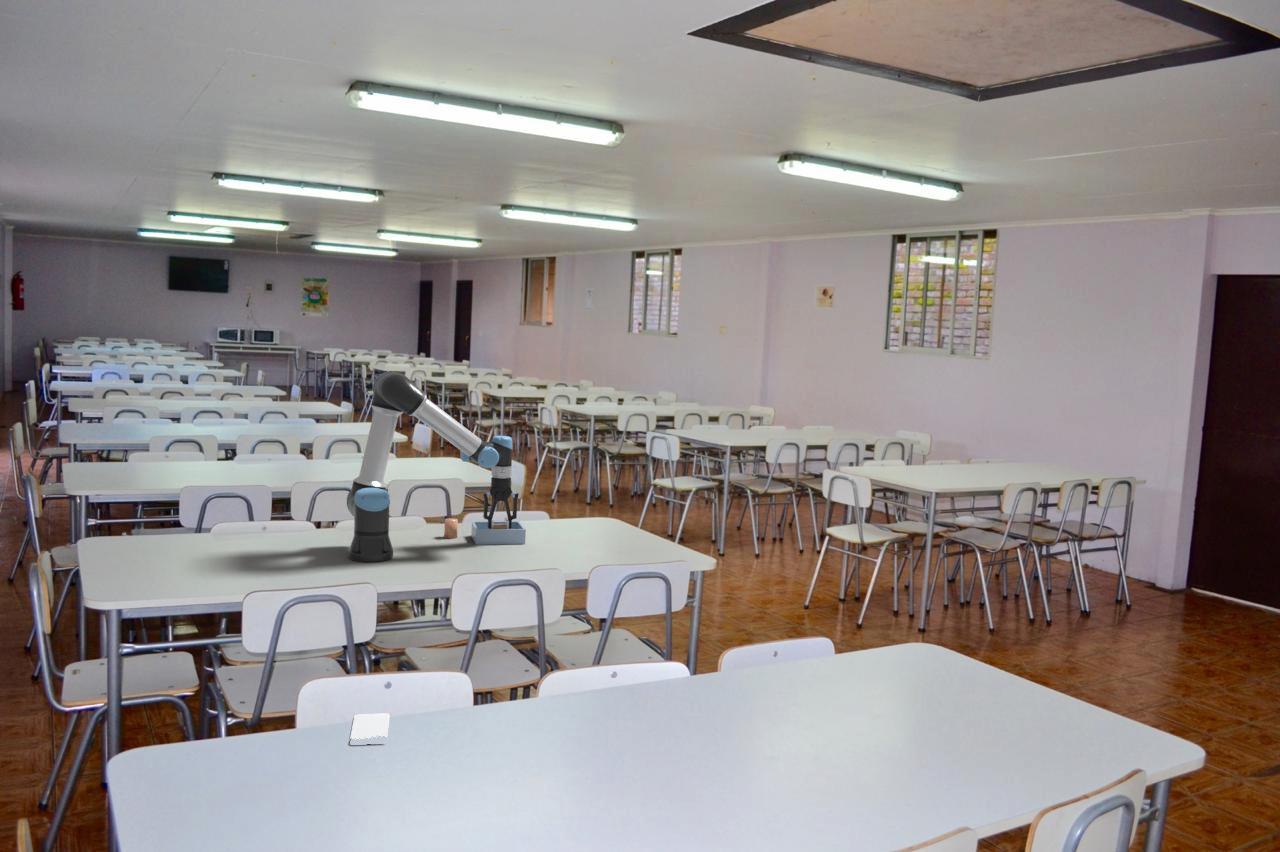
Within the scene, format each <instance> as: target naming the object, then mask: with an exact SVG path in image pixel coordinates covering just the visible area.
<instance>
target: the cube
mask: <svg viewBox="0 0 1280 852" xmlns="http://www.w3.org/2000/svg"><path fill="white" fill-rule="evenodd" d="M494 529H507V525H506V524H494Z"/></svg>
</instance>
